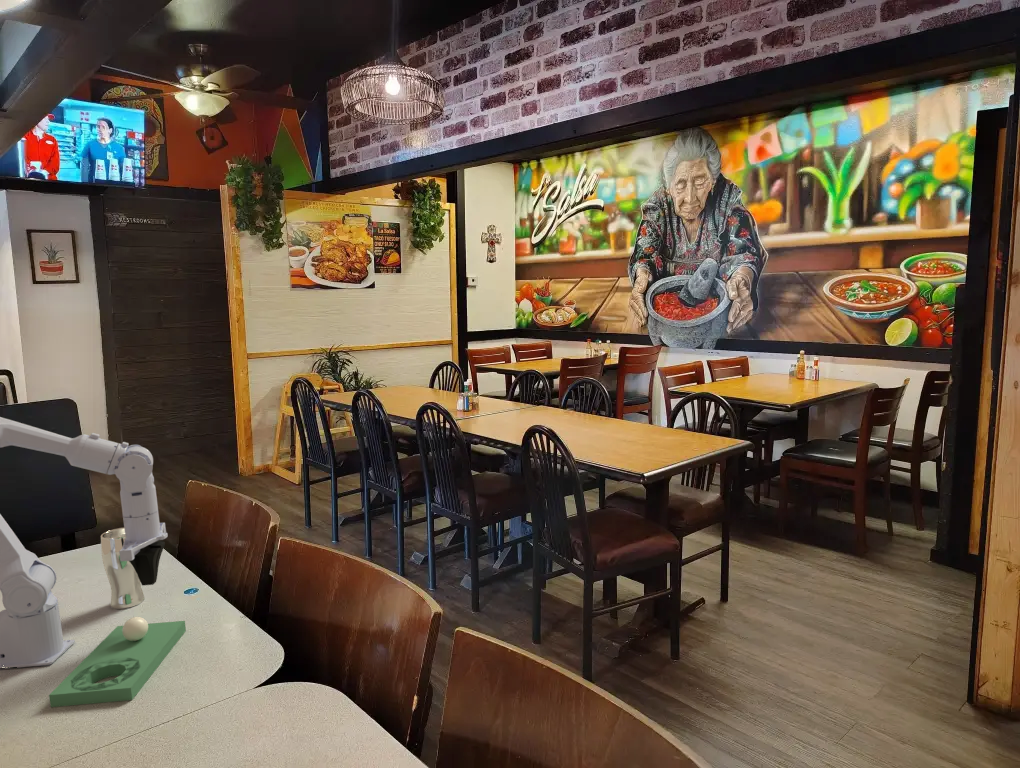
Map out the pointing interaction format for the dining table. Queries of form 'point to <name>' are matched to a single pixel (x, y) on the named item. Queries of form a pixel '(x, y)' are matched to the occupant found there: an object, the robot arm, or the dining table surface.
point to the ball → (135, 628)
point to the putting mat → (118, 666)
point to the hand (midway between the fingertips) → (149, 583)
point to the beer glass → (120, 572)
